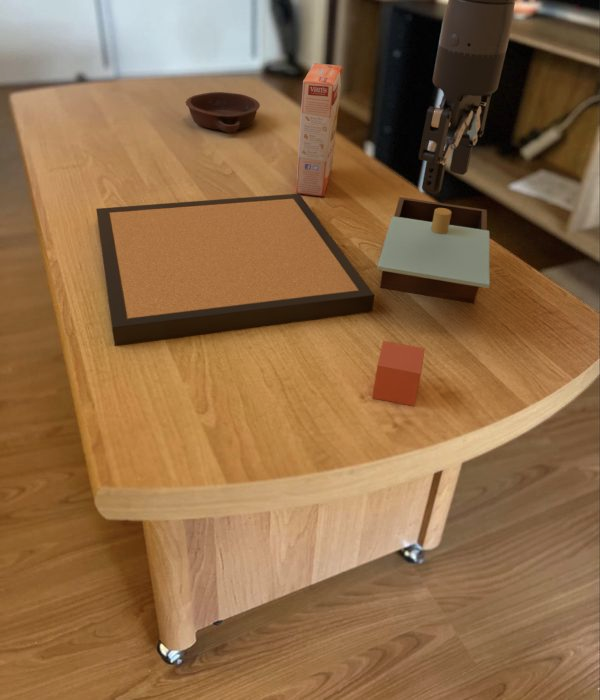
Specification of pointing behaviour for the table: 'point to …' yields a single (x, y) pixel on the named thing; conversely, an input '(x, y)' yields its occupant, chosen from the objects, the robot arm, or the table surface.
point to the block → (398, 373)
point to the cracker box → (318, 128)
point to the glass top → (437, 250)
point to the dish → (223, 110)
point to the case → (425, 285)
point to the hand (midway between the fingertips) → (444, 182)
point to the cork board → (222, 267)
